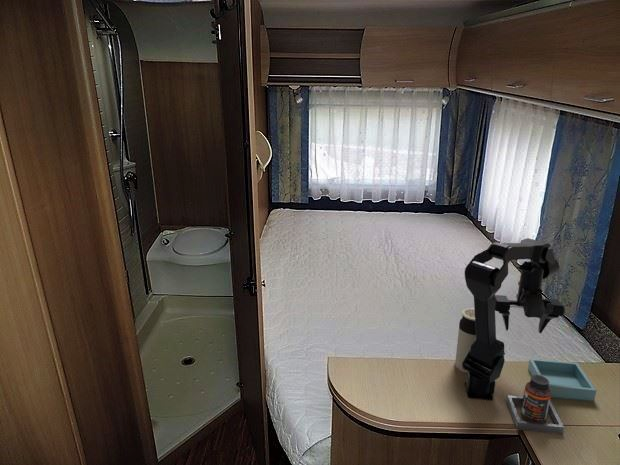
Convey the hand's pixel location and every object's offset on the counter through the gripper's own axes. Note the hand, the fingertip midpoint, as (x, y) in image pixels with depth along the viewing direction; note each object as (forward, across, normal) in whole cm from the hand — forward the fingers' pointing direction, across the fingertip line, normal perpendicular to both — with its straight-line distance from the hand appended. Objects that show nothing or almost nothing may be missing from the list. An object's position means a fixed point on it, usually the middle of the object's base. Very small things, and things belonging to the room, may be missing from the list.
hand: (523, 331), depth 132 cm
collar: (+12, -2, -23) cm, 26 cm away
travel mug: (+12, -15, -3) cm, 19 cm away
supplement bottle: (+12, -2, -23) cm, 26 cm away
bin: (+12, +9, -8) cm, 17 cm away
